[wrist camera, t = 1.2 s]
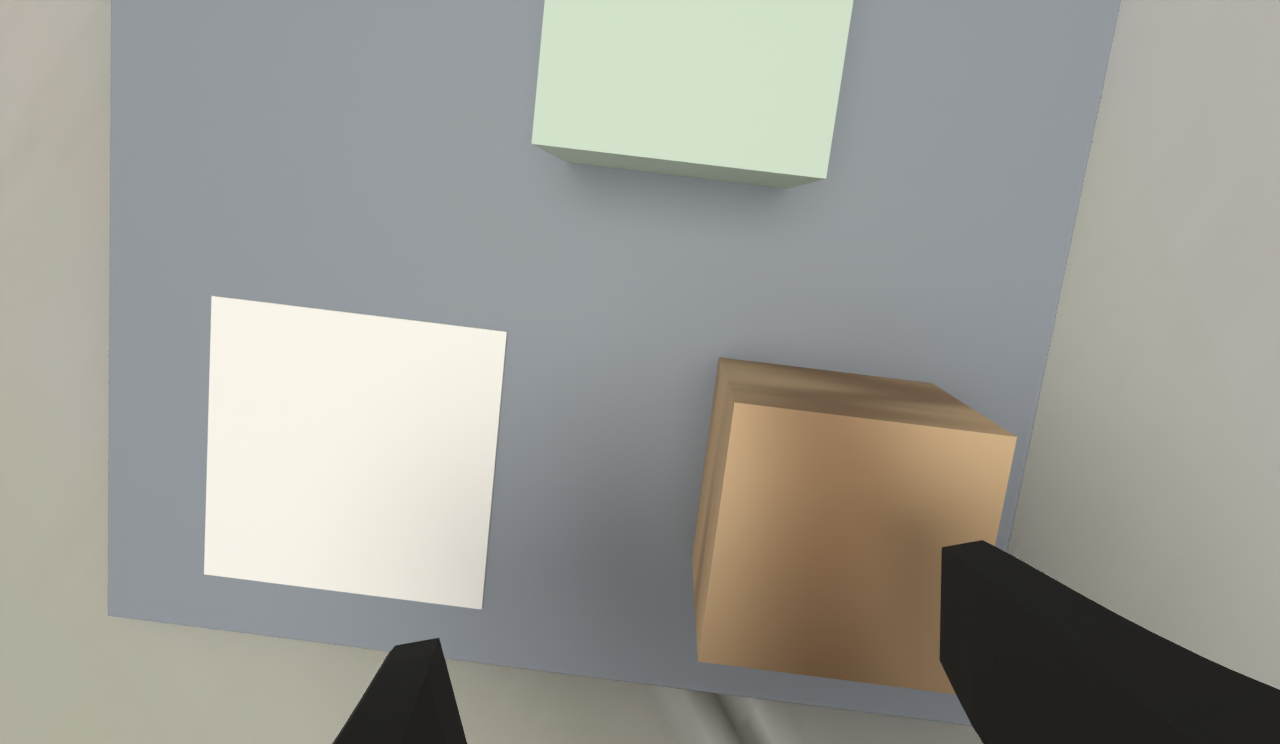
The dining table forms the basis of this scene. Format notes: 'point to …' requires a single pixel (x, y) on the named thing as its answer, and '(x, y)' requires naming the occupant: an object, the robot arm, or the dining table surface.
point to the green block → (693, 86)
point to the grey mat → (534, 316)
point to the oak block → (837, 520)
